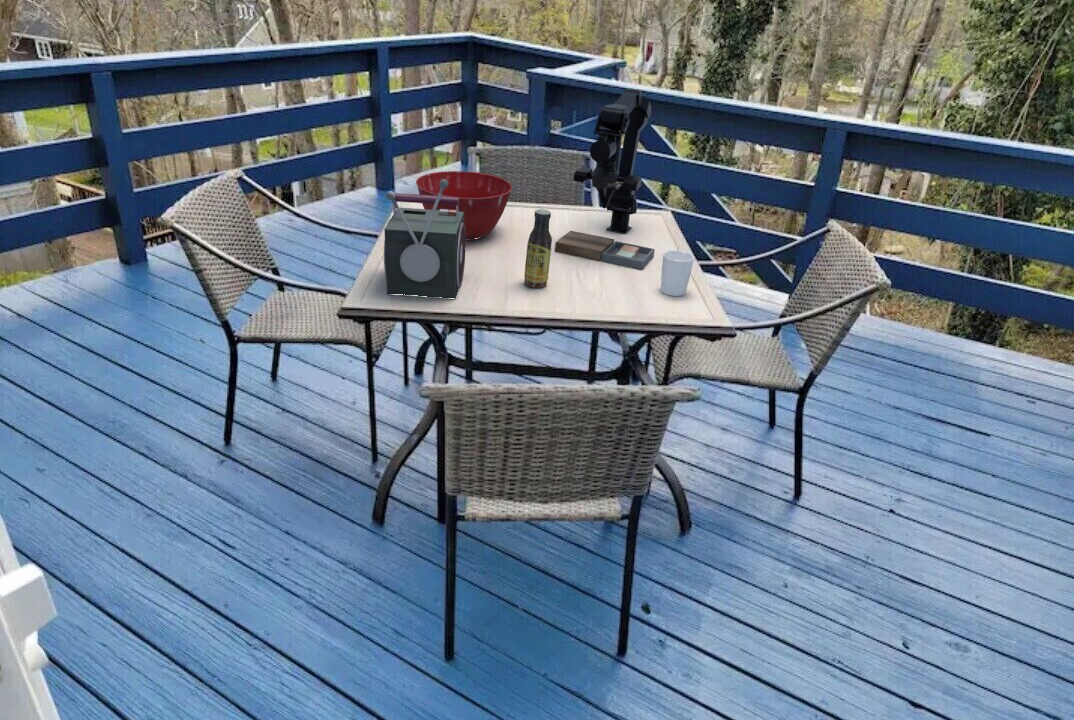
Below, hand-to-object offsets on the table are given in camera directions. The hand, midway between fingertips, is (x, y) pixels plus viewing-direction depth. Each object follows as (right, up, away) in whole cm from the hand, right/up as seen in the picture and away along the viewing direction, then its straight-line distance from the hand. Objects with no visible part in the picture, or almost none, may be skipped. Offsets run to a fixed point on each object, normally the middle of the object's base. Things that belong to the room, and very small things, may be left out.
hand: (604, 208), depth 218 cm
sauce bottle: (-20, -24, -20) cm, 37 cm away
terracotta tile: (+7, -12, 0) cm, 14 cm away
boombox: (-48, -25, -25) cm, 59 cm away
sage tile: (+6, -14, -4) cm, 15 cm away
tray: (+7, -15, 0) cm, 16 cm away
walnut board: (-6, -12, +4) cm, 14 cm away
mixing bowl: (-42, -5, +11) cm, 44 cm away
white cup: (+16, -26, -19) cm, 36 cm away
